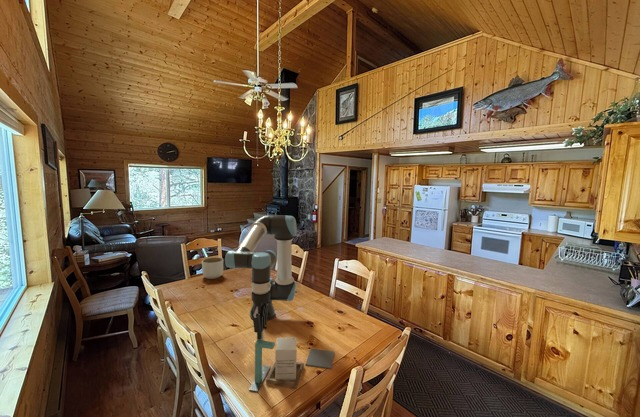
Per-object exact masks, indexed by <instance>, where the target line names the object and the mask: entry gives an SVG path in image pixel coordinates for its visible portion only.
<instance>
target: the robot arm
mask: <svg viewBox="0 0 640 417" xmlns="http://www.w3.org/2000/svg"><path fill="white" fill-rule="evenodd" d="M297 230H298V228H297V220H296V218H295V217H294V216H293V215H284V214H283V215H282V214H281V215H280V214H266V215H264V216H261V217H259V218H257V219H256V220H254V221H253V222H252V224H251V225H250V227H249V231H247V234H246V235H245V237H244V238H243V240H241V242H240V244H239V245H238V247H236V248H235V250H228V251H227V252H226V254H225V256H224V265H225V266H226V267H227V268H233V269H249V270H250V269H251V301H252V302H253V303H252V305H251V309H250V310H249V311H250V313H249V316H250V318H251V319H252V320H253V321H252V322H253V331H254V333H256V341H257V340H263V341H265V329H266V330H267V326H266V325H267V324H268V323H267V322H268V321H269V320H271V319H272V318H274V316H275V315H276V314H275V311H276V310H275V307H274V303H273V301H279V302H280V301H281V302H292V301H294V300H295V296H296V295H295V294H296V290H297V282H296V281H295V279H294V277H293V276H292V272H293V271H292V268H293V267H292V263H293V262H292V256H293V255H292V252H293V251H292V246H293V245H292V241H293V240H294V239H295V236H297V233H298V231H297ZM268 235H269V236H273V238H274V240H275V241H276V252H277V253H276V252H275V251H274V250H271V249H267V250H265V251H256V249H257V246H258V245H259V243H260V242H261V240H262V238H264V237H265V236H268ZM276 264H277V268H276V270H277V271H276V272H277V276H276V277H275V280H273V278H272V277H271V273H272V272H271V271H272V269H273V268H274V267H275V266H276Z"/></svg>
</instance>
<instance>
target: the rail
mask: <svg viewBox="0 0 640 417" xmlns="http://www.w3.org/2000/svg"><path fill="white" fill-rule="evenodd" d="M270 370H271V366H269V365H263V364H262V379H261V381H260V383H255V379H253V382H252V384H251V385H250V387H249V389H248V391H249V392H254V393H258V392H259V390H260V388H261V386H262V385H263V383H264V382H265V381H264V380H266V378H267V376H268V374H269V372H270Z"/></svg>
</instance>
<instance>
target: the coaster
mask: <svg viewBox="0 0 640 417" xmlns="http://www.w3.org/2000/svg"><path fill="white" fill-rule="evenodd" d="M334 357H335V351H332V350H326V349H319V348H313V347H311V348H310V350H309V353H308V357H307V359H306V362H305V366H308V367H314V368H321V369H329V370H332V366H333V362H334Z"/></svg>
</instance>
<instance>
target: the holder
mask: <svg viewBox="0 0 640 417" xmlns="http://www.w3.org/2000/svg"><path fill="white" fill-rule="evenodd" d="M304 367H305V362H304V363H303V362H297V361H296V369H299V370H298V371H297V373H296V380H295V382H290V381H284V380H278V379H275V378H273V376H274V375H275V362H274V363H273V365H272V367H271V368H270V370H269V372H268V374H267V376H266V378H265V384H266V385H271V386H275V387H276V386H278V387H284V388H287V389H288V388H289V389H293V390H297V387H298V385H299V383H300V380H301V377H302V373H303V370H304V369H305V368H304Z"/></svg>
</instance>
